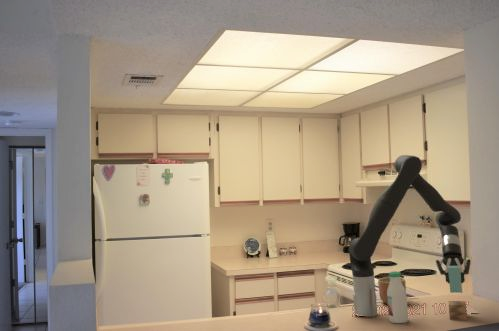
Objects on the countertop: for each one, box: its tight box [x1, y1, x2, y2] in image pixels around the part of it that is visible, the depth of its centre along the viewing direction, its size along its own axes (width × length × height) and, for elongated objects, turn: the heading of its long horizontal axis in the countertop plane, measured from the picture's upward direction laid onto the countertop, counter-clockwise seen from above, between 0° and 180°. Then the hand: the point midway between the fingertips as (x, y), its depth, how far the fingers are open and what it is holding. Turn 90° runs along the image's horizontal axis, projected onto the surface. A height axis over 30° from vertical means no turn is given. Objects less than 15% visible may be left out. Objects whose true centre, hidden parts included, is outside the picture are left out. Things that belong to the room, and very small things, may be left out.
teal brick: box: [448, 266, 463, 294], centre depth 201 cm, size 4×4×10 cm
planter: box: [377, 276, 407, 305], centre depth 230 cm, size 12×12×11 cm
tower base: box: [447, 300, 468, 321], centre depth 201 cm, size 6×6×6 cm
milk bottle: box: [387, 271, 409, 324], centre depth 202 cm, size 8×8×20 cm
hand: (455, 282), depth 199 cm, fingers closed on teal brick, 4 cm apart
